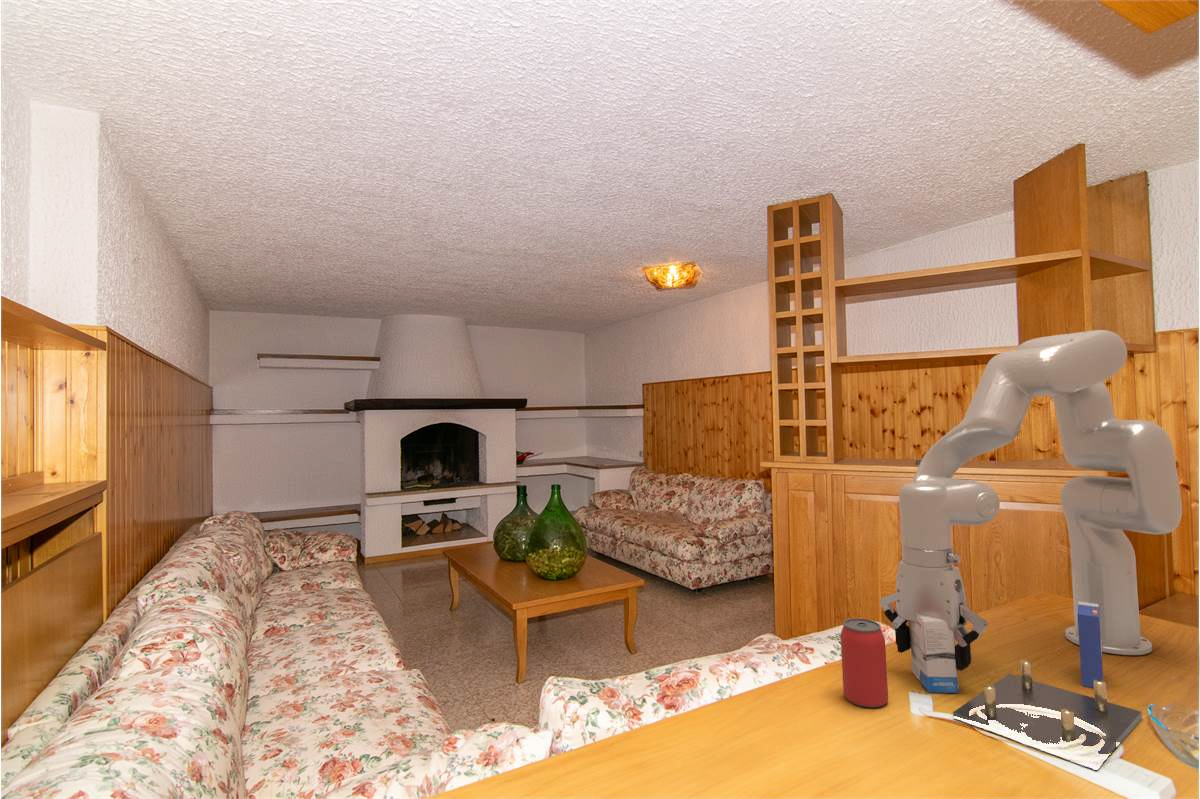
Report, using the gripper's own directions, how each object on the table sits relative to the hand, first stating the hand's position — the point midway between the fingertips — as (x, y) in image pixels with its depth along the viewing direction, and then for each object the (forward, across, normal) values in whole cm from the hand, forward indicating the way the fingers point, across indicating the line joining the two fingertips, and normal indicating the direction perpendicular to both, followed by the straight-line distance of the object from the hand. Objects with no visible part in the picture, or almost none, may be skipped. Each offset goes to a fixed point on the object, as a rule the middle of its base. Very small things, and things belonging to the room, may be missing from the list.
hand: (932, 659), depth 101 cm
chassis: (+4, -16, 0) cm, 16 cm away
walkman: (+4, -16, -20) cm, 26 cm away
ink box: (+4, 0, 0) cm, 4 cm away
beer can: (+4, +4, +14) cm, 15 cm away
